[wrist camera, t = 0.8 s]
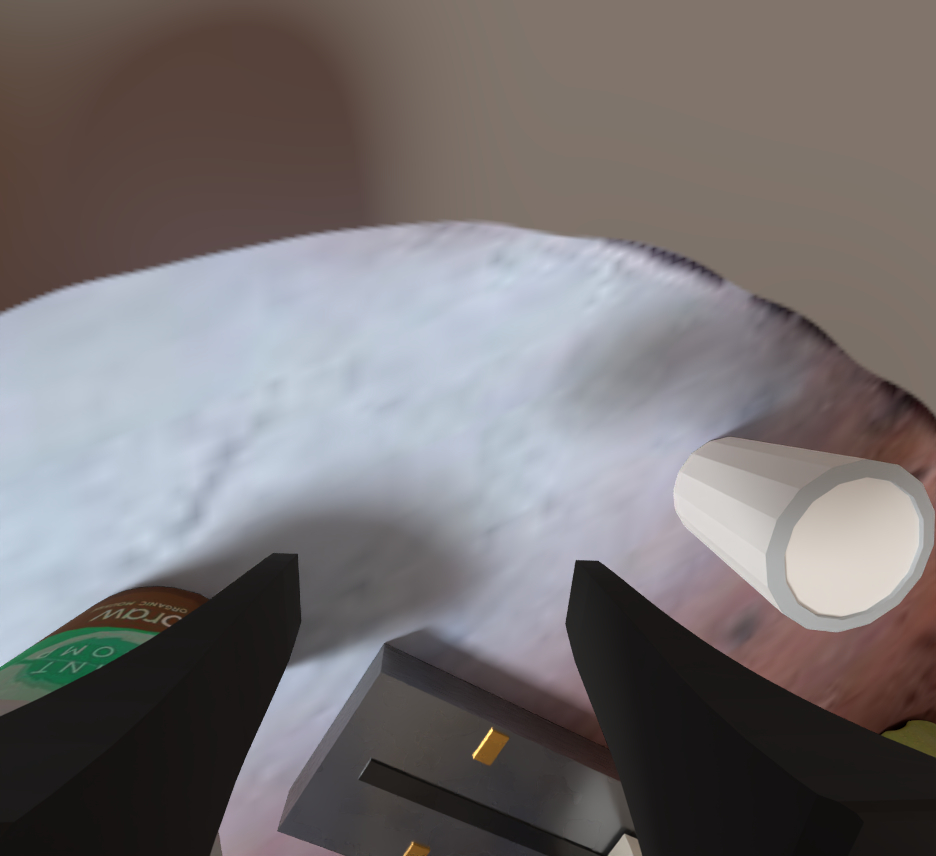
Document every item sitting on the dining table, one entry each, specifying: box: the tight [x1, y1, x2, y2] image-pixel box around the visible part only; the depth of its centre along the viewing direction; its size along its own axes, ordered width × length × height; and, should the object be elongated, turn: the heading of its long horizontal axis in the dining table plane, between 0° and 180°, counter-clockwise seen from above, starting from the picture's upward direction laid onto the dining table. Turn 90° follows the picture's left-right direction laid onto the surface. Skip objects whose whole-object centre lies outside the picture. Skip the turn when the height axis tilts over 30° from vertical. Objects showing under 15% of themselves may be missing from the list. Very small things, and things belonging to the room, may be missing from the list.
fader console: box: [277, 643, 637, 856], centre depth 24 cm, size 10×24×2 cm, turn 58°
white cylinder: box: [673, 436, 935, 632], centre depth 19 cm, size 7×7×7 cm
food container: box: [0, 586, 222, 856], centre depth 16 cm, size 12×6×10 cm, turn 86°
